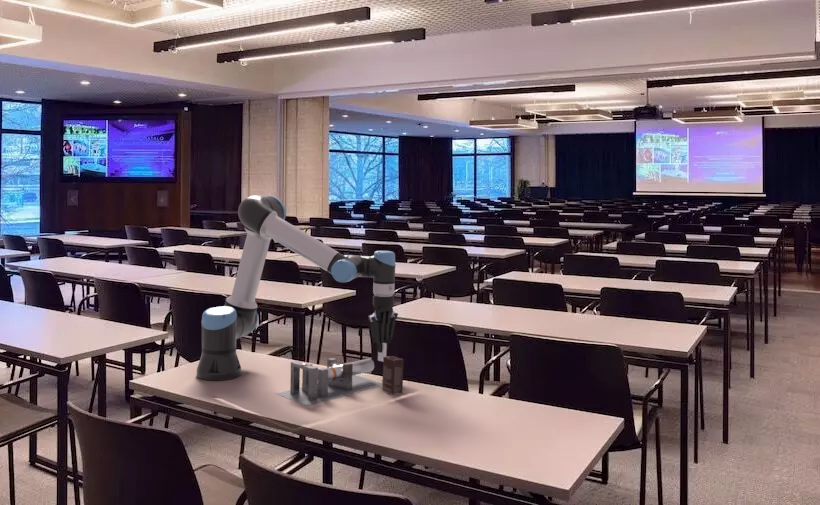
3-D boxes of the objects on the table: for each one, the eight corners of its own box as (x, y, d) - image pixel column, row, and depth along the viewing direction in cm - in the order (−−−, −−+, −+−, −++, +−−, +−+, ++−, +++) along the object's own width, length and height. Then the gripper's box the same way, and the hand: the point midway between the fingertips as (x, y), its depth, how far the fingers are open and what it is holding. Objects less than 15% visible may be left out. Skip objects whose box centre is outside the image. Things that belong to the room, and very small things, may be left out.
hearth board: (275, 396, 218) (275, 393, 218) (353, 376, 243) (353, 374, 243) (307, 408, 208) (307, 405, 208) (385, 386, 233) (385, 384, 233)
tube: (316, 381, 223) (316, 367, 223) (365, 369, 239) (365, 357, 239) (325, 384, 220) (325, 370, 220) (374, 372, 236) (374, 359, 236)
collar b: (302, 390, 222) (302, 364, 222) (307, 389, 224) (308, 363, 223) (321, 397, 216) (322, 370, 215) (327, 396, 218) (328, 369, 217)
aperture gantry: (290, 393, 219) (290, 361, 218) (296, 391, 221) (296, 360, 220) (311, 400, 212) (312, 367, 211) (317, 399, 214) (318, 366, 213)
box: (403, 394, 224) (404, 358, 223) (392, 397, 221) (393, 360, 220) (392, 390, 229) (393, 355, 228) (381, 392, 226) (382, 356, 225)
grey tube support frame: (326, 384, 230) (327, 359, 229) (332, 383, 232) (332, 357, 231) (346, 391, 224) (347, 364, 223) (352, 389, 225) (352, 363, 224)
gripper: (378, 298, 232) (376, 366, 235) (404, 294, 242) (402, 359, 244) (362, 295, 237) (361, 361, 240) (389, 291, 247) (387, 355, 249)
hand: (381, 360), depth 242 cm, fingers closed
